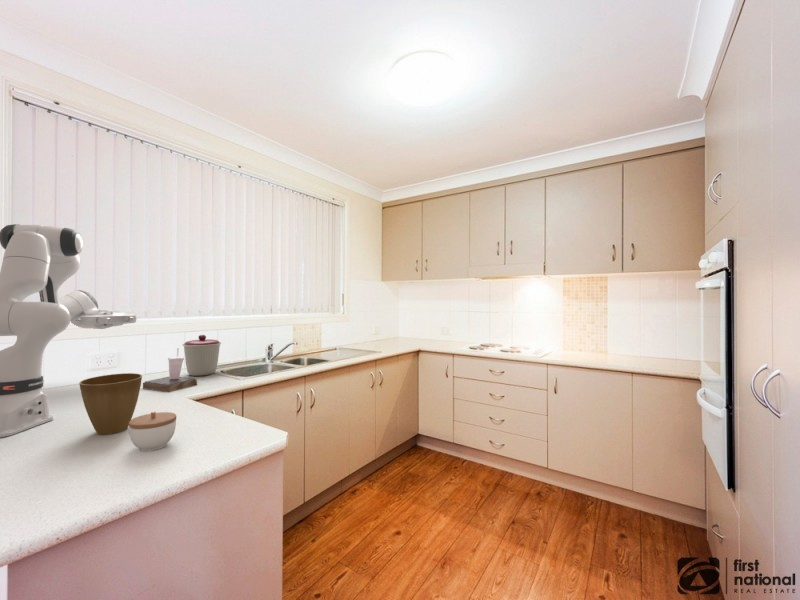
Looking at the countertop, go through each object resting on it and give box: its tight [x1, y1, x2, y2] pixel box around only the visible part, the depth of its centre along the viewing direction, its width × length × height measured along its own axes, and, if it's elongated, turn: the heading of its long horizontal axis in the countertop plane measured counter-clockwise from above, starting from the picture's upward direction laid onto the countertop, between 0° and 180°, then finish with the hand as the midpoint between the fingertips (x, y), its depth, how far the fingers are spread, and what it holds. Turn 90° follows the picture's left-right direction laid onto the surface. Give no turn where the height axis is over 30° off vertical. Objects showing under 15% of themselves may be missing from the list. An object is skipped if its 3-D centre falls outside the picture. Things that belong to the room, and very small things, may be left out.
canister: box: [182, 334, 222, 377], centre depth 192 cm, size 18×18×21 cm
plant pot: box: [78, 372, 143, 436], centre depth 110 cm, size 15×15×16 cm
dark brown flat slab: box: [142, 376, 198, 393], centre depth 165 cm, size 14×16×3 cm
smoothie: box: [167, 347, 185, 379], centre depth 167 cm, size 6×6×14 cm
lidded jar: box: [128, 411, 177, 452], centre depth 98 cm, size 11×11×9 cm
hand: (120, 319), depth 157 cm, fingers open, 8 cm apart
